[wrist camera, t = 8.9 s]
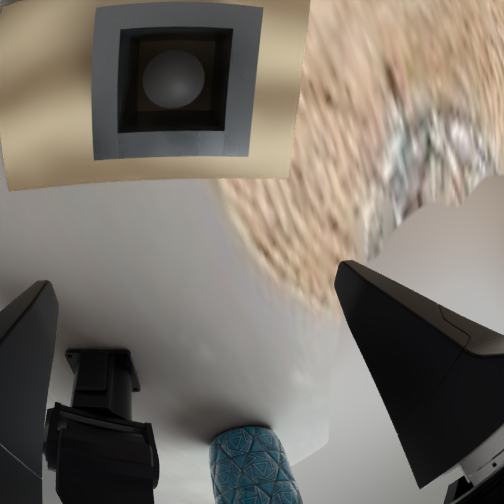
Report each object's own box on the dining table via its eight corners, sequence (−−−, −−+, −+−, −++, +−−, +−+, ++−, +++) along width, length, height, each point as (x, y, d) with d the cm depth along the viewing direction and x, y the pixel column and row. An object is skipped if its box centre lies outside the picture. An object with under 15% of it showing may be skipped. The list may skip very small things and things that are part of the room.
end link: (226, 128, 17) (248, 156, 12) (119, 130, 16) (93, 160, 11) (235, 25, 14) (263, 7, 9) (123, 25, 12) (96, 7, 8)
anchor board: (282, 172, 20) (319, 214, 15) (16, 184, 16) (-29, 230, 11) (303, -5, 14) (354, -26, 9) (10, 9, 10) (-45, -1, 5)
